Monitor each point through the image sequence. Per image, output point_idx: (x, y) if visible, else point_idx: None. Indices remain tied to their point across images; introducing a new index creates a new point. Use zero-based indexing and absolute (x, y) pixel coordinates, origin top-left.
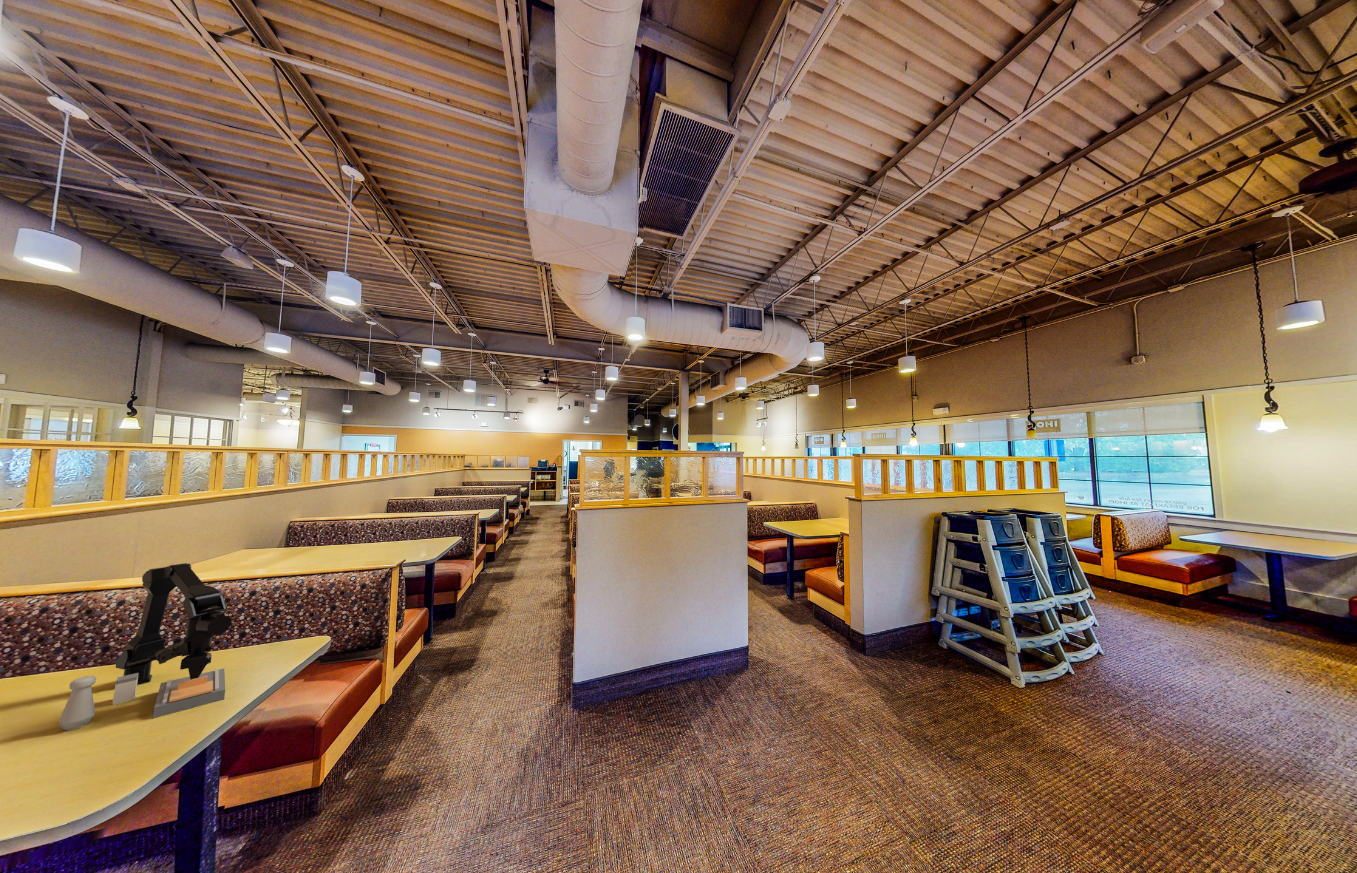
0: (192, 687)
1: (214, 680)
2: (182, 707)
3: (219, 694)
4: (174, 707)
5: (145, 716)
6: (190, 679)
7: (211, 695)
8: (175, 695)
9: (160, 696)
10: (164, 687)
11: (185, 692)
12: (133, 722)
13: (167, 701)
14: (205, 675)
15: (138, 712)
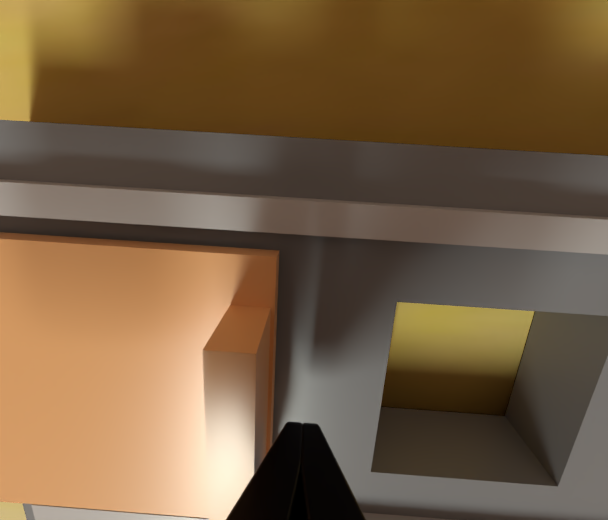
0: (195, 403)
1: None
2: None
3: None
4: None
5: (123, 83)
6: (267, 453)
7: None
8: (45, 282)
9: (269, 165)
10: (596, 201)
11: (78, 352)
12: (41, 6)
13: (32, 217)
14: (586, 480)
15: (282, 32)
